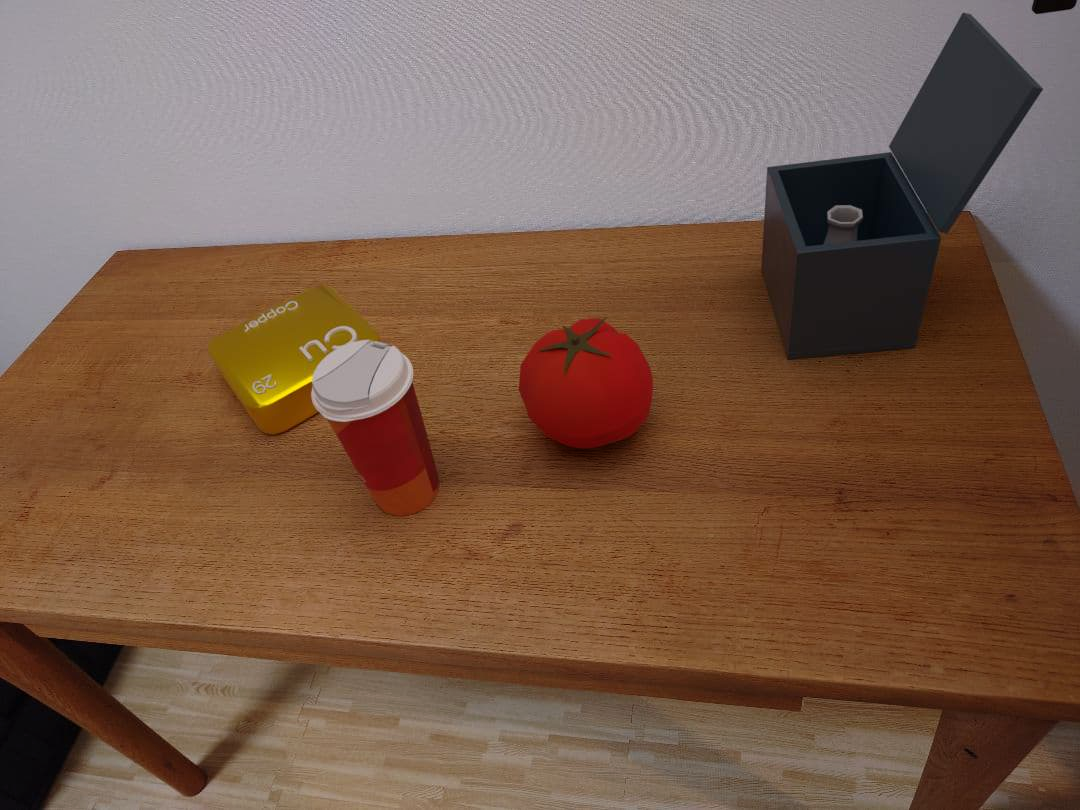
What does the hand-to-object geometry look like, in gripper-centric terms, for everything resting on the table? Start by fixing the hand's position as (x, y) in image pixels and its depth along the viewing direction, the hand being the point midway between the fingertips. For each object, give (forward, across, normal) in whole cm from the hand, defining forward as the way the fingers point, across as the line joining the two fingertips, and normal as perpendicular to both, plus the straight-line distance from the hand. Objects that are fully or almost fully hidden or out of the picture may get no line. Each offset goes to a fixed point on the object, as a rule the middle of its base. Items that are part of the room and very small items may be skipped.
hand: (1078, 31), depth 62 cm
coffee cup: (+25, -20, +58) cm, 66 cm away
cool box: (+25, 0, +16) cm, 30 cm away
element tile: (+25, -2, +72) cm, 76 cm away
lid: (+6, 0, +8) cm, 10 cm away
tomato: (+25, -14, +41) cm, 50 cm away
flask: (+24, 0, +16) cm, 29 cm away
